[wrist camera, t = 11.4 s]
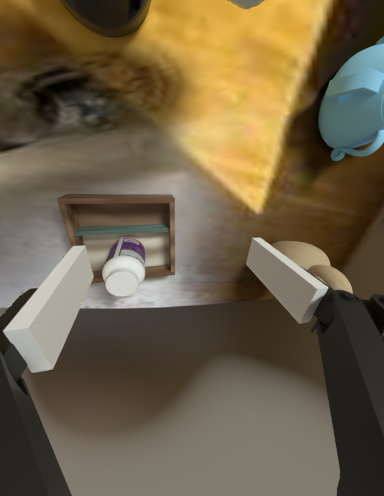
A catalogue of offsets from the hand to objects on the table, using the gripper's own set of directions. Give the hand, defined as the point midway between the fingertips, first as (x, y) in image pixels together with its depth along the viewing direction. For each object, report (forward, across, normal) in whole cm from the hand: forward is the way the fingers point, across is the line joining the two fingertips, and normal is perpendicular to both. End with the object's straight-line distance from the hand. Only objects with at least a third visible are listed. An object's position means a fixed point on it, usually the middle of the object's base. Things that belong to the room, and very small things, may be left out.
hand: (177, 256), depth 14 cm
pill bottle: (+29, -8, -14) cm, 33 cm away
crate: (+30, -8, -11) cm, 33 cm away
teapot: (+31, +45, +21) cm, 58 cm away
